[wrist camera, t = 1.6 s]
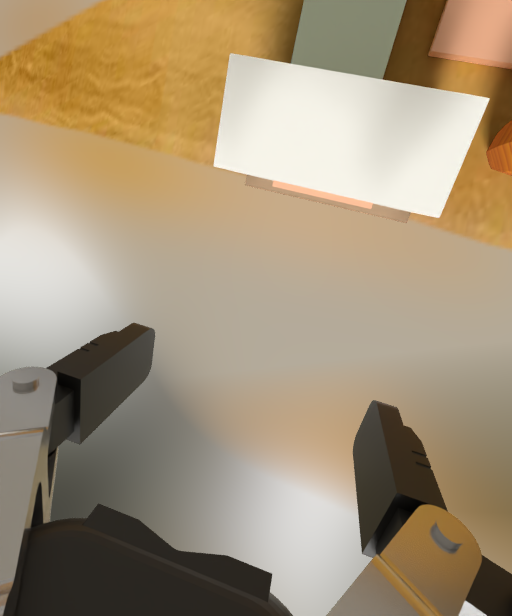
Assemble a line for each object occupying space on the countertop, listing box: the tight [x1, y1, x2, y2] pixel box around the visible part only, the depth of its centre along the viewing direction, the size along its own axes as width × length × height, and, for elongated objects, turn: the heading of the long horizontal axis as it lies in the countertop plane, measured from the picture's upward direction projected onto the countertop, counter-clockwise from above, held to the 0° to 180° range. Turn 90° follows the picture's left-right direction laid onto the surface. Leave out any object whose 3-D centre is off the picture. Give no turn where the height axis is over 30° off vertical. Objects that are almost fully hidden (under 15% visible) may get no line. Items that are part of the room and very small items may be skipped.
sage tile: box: [291, 0, 407, 79], centre depth 26 cm, size 8×8×1 cm
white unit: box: [214, 53, 490, 223], centre depth 24 cm, size 16×8×13 cm, turn 77°
